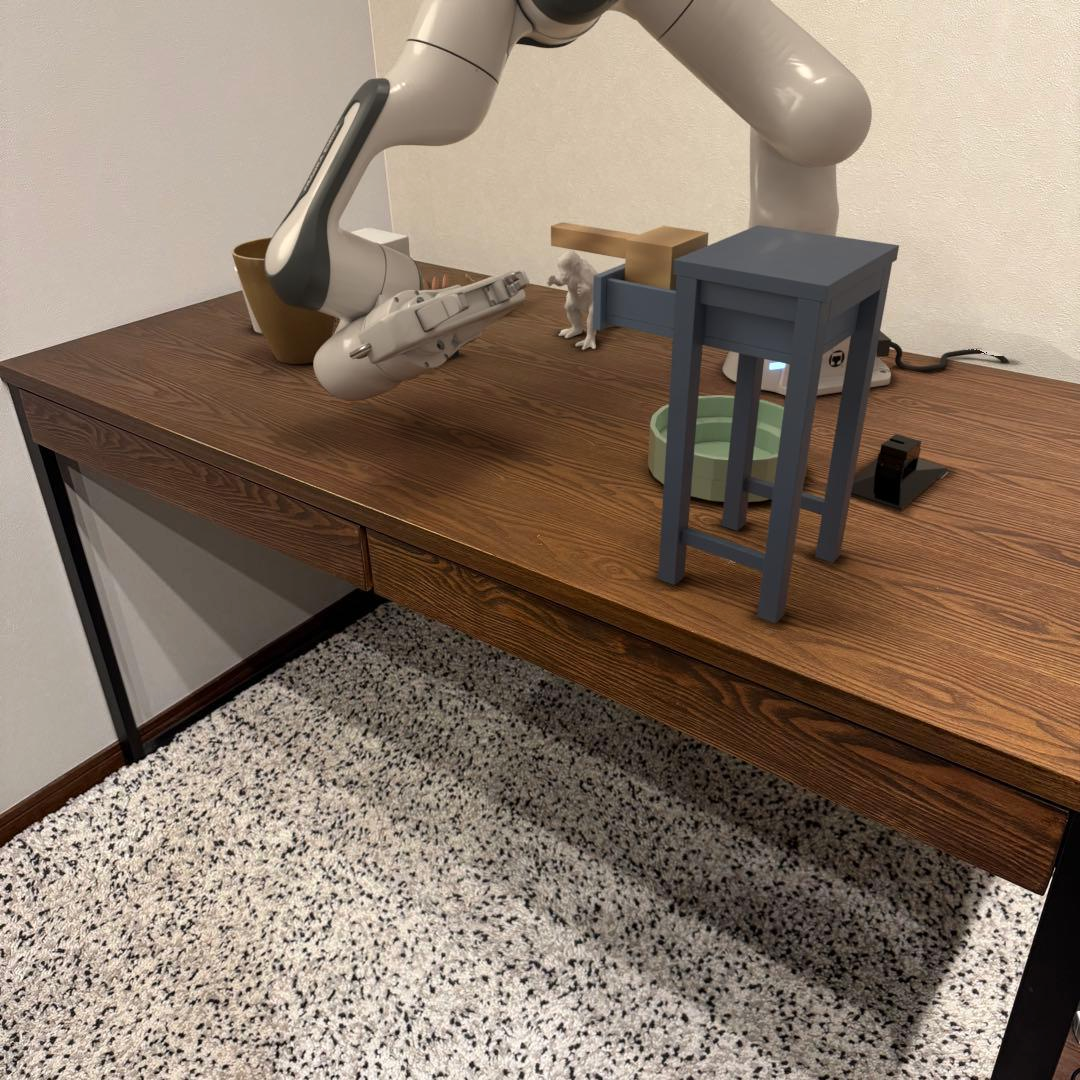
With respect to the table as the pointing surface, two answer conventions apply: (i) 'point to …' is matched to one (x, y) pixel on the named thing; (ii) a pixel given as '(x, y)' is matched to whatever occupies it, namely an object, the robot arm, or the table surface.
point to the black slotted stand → (896, 474)
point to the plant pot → (279, 310)
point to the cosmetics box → (386, 239)
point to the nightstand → (756, 334)
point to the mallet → (634, 249)
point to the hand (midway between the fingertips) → (493, 289)
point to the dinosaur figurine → (577, 295)
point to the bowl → (719, 445)
